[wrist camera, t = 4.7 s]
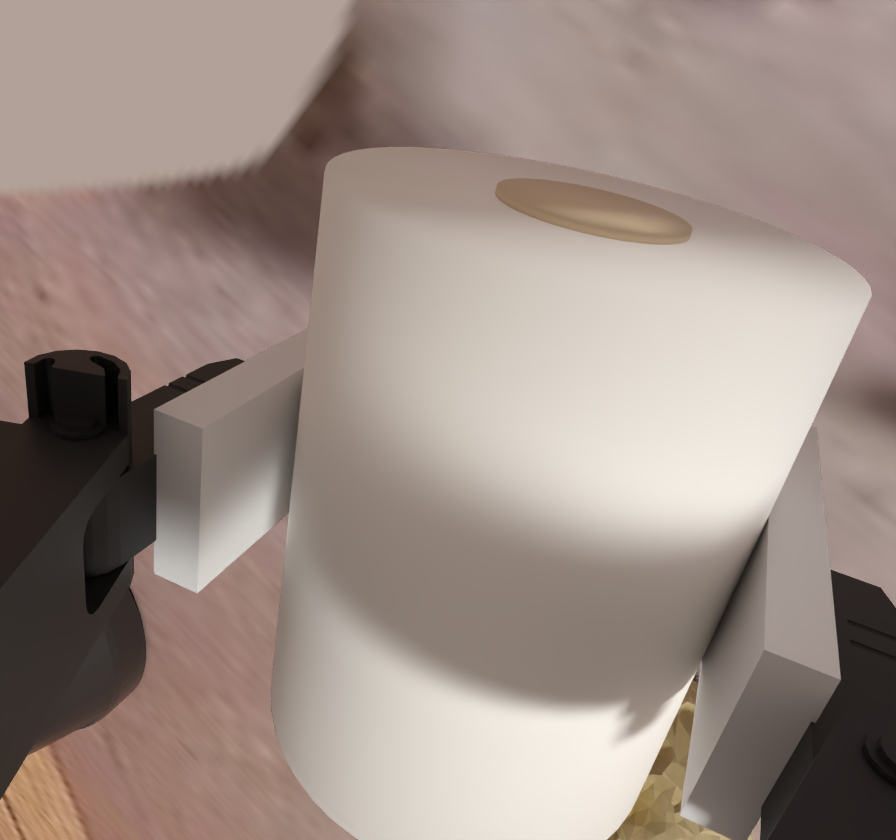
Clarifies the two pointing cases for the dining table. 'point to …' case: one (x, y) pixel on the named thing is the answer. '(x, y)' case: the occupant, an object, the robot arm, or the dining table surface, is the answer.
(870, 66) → the dining table surface
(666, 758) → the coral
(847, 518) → the dining table surface
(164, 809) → the dining table surface
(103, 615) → the robot arm
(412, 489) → the roll
